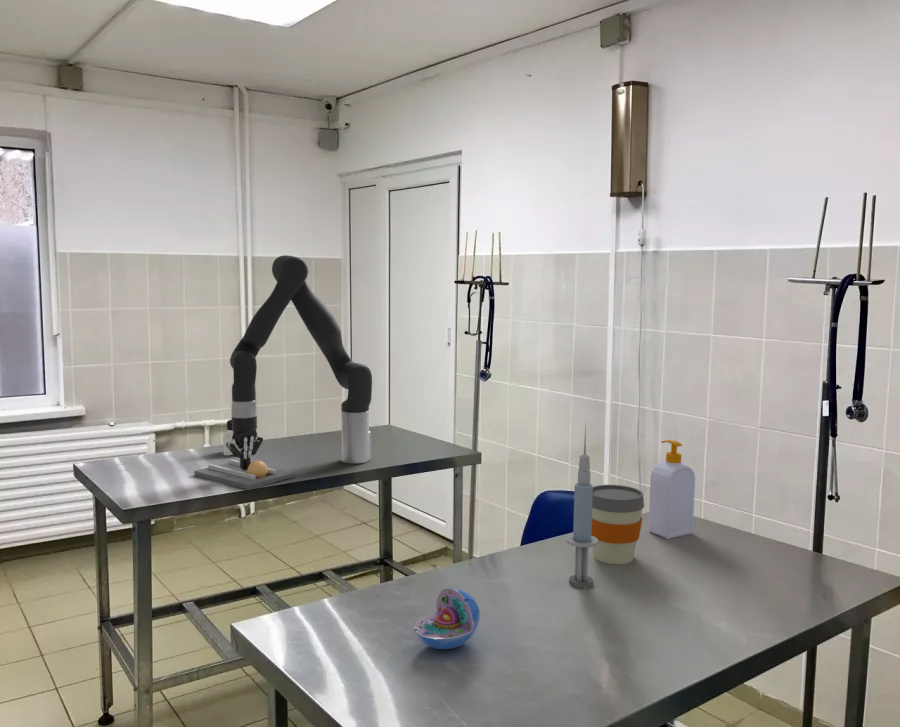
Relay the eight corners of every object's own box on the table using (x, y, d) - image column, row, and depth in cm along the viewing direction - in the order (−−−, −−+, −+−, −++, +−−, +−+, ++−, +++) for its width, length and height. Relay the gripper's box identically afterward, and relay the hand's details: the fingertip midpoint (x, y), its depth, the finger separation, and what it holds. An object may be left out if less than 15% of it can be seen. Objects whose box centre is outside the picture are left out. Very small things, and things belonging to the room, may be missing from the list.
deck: (241, 464, 252) (241, 456, 251) (295, 477, 236) (295, 468, 236) (194, 475, 237) (194, 467, 237) (248, 490, 222) (248, 480, 222)
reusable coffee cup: (575, 559, 170) (577, 493, 168) (598, 543, 180) (600, 481, 179) (629, 571, 163) (632, 503, 161) (650, 554, 173) (652, 490, 172)
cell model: (401, 645, 130) (401, 591, 129) (455, 625, 137) (455, 574, 136) (438, 668, 122) (439, 611, 121) (493, 645, 130) (494, 592, 129)
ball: (269, 457, 234) (273, 476, 233) (258, 461, 237) (261, 480, 236) (253, 459, 229) (257, 479, 228) (242, 463, 233) (245, 483, 231)
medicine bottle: (243, 455, 263) (242, 421, 262) (223, 455, 264) (222, 421, 262) (249, 451, 270) (248, 417, 269) (229, 450, 271) (228, 417, 269)
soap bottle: (671, 525, 194) (675, 436, 191) (692, 533, 188) (697, 442, 185) (645, 531, 189) (649, 440, 187) (666, 539, 183) (670, 446, 181)
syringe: (597, 588, 154) (601, 419, 150) (565, 587, 155) (568, 418, 151) (596, 578, 159) (600, 415, 156) (565, 577, 160) (568, 414, 157)
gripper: (234, 419, 227) (235, 476, 229) (269, 413, 237) (270, 467, 239) (218, 416, 231) (220, 472, 233) (253, 410, 242) (254, 463, 244)
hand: (245, 469), depth 236 cm, fingers closed
